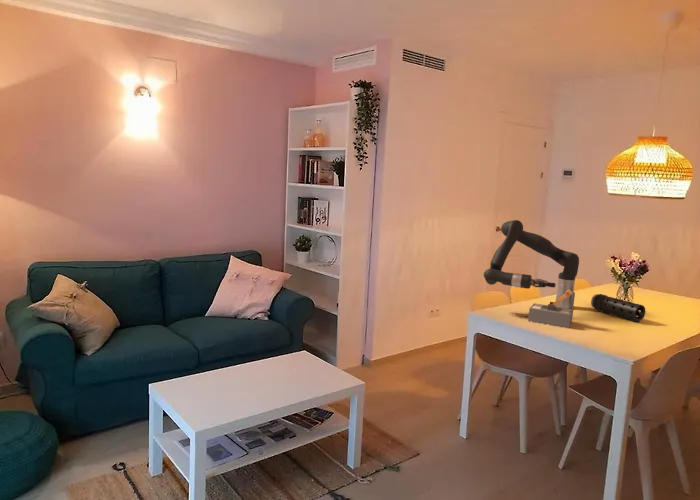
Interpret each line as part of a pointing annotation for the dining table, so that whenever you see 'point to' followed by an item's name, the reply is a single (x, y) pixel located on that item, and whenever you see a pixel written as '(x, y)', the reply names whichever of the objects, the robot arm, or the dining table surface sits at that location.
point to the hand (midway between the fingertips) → (555, 285)
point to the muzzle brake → (618, 307)
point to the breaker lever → (562, 297)
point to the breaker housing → (550, 315)
